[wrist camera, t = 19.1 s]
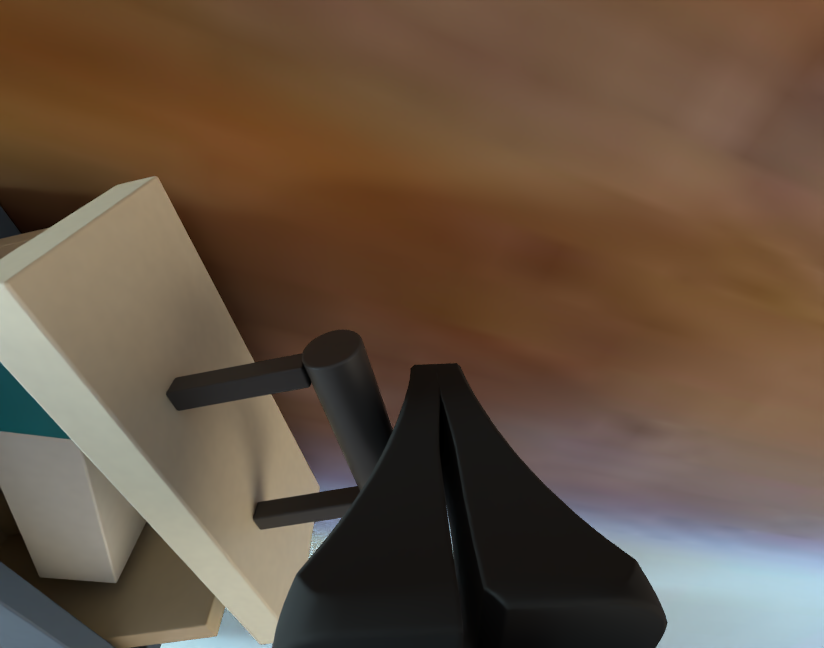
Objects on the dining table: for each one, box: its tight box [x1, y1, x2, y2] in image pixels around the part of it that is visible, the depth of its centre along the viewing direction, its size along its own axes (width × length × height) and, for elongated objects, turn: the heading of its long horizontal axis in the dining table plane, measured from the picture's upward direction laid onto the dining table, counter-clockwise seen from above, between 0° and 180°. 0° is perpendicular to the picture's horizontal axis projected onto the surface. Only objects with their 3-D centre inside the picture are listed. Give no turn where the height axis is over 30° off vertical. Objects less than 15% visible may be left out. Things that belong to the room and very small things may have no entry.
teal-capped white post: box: [0, 362, 146, 583], centre depth 14 cm, size 10×2×3 cm, turn 168°
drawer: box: [0, 176, 393, 648], centre depth 14 cm, size 18×13×6 cm
